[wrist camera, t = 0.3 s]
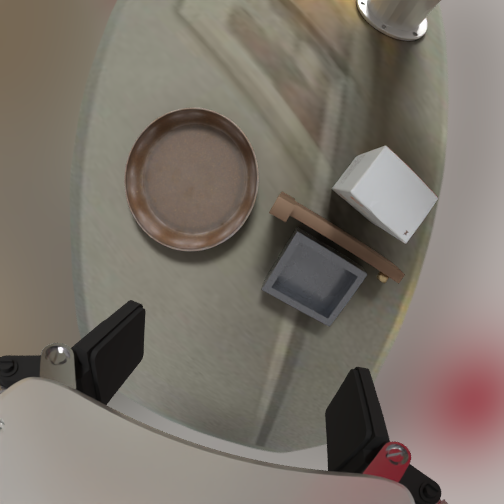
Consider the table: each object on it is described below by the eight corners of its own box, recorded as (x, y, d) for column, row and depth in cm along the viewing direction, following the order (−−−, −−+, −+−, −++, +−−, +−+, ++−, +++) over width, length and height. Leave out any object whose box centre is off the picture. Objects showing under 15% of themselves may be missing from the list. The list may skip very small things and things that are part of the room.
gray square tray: (296, 226, 38) (297, 231, 35) (361, 266, 38) (367, 274, 35) (264, 280, 41) (261, 289, 38) (327, 315, 41) (329, 326, 38)
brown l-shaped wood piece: (282, 191, 37) (278, 196, 28) (394, 262, 37) (420, 286, 28) (271, 209, 38) (264, 220, 29) (383, 277, 38) (406, 306, 29)
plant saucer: (194, 272, 43) (186, 279, 40) (114, 183, 41) (102, 184, 38) (291, 180, 37) (291, 180, 34) (195, 87, 35) (187, 80, 32)
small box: (397, 190, 35) (440, 198, 22) (372, 224, 37) (406, 246, 24) (356, 154, 34) (385, 143, 22) (330, 188, 36) (348, 193, 24)
